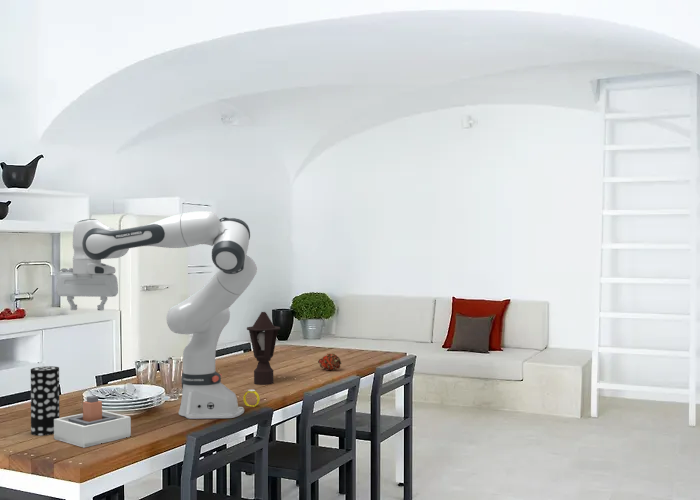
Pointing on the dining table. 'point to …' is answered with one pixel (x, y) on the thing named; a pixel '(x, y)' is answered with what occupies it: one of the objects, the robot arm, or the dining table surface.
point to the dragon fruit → (330, 362)
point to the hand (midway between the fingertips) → (87, 310)
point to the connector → (92, 409)
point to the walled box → (92, 429)
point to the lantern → (263, 348)
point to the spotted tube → (44, 399)
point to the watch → (255, 394)
